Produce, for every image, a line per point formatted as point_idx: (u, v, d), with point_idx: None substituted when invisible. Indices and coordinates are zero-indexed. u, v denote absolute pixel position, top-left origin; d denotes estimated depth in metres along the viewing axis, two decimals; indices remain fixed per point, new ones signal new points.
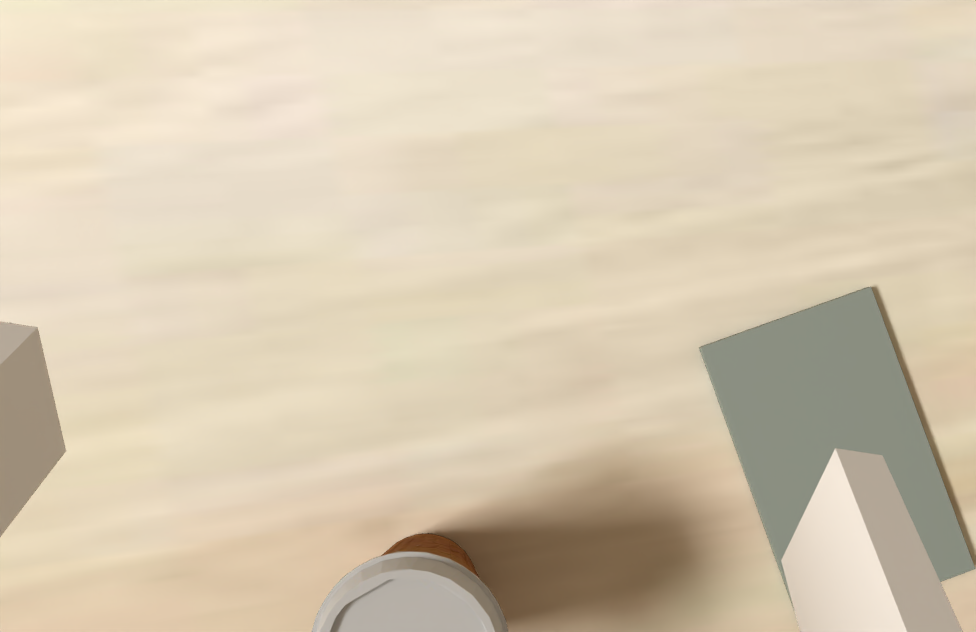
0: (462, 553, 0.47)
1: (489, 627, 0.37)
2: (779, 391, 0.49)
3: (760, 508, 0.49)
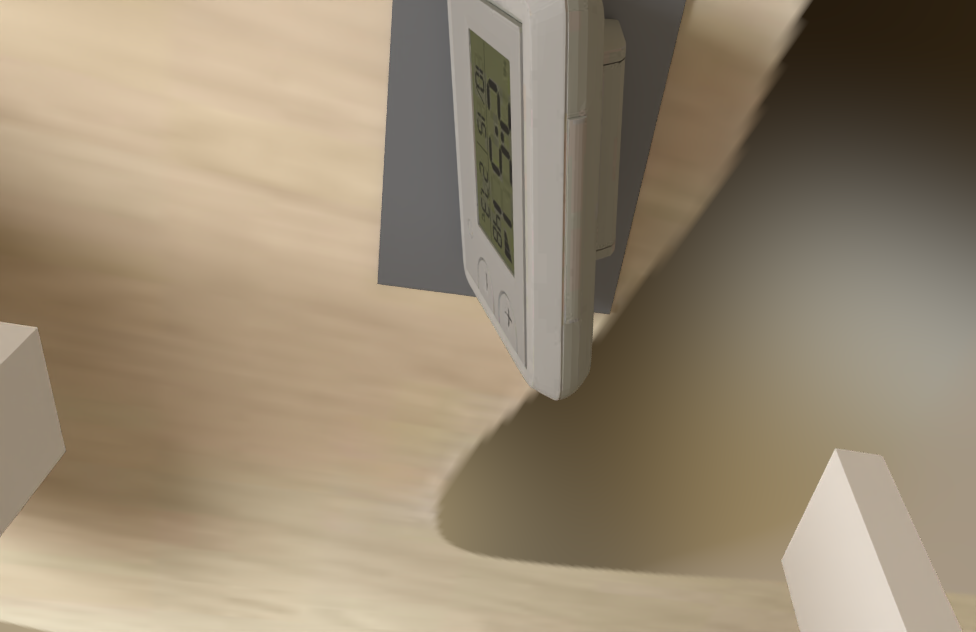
0: None
1: None
2: None
3: None
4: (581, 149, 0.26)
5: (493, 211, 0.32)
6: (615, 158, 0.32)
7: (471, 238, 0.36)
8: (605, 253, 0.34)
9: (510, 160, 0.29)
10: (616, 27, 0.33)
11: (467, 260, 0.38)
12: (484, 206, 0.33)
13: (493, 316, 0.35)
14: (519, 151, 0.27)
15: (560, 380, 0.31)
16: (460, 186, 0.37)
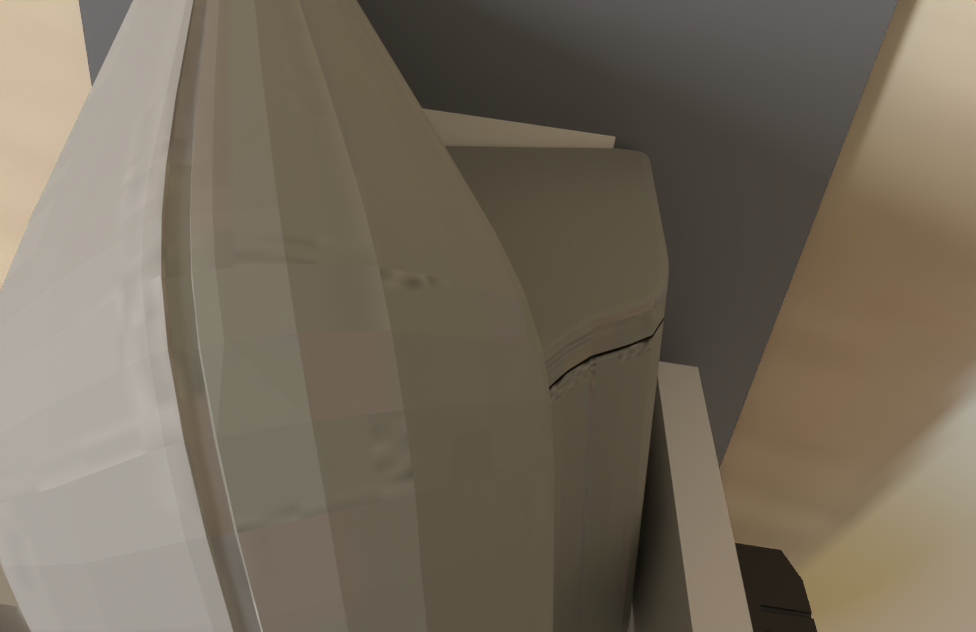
0: None
1: None
2: None
3: None
4: None
5: None
6: (626, 561, 0.11)
7: None
8: None
9: None
10: (642, 188, 0.12)
11: None
12: None
13: None
14: None
15: None
16: None
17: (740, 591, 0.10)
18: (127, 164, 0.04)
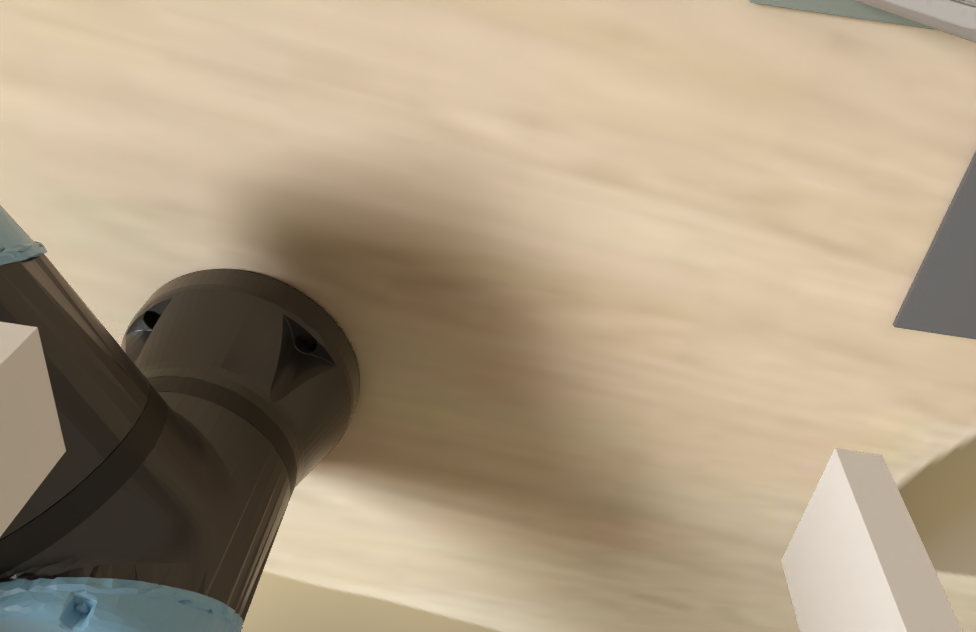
0: None
1: None
2: None
3: None
4: None
5: None
6: None
7: None
8: None
9: None
10: None
11: None
12: None
13: None
14: None
15: None
16: None
17: None
18: None
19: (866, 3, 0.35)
